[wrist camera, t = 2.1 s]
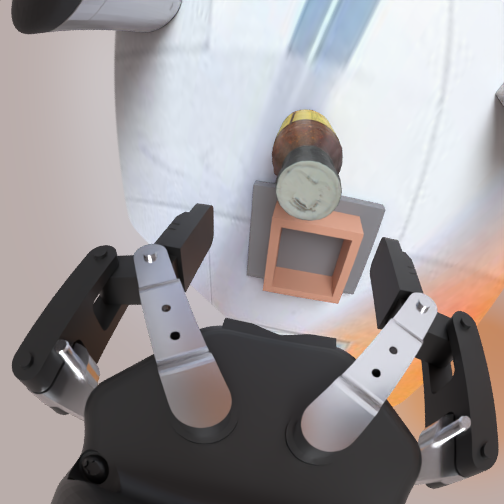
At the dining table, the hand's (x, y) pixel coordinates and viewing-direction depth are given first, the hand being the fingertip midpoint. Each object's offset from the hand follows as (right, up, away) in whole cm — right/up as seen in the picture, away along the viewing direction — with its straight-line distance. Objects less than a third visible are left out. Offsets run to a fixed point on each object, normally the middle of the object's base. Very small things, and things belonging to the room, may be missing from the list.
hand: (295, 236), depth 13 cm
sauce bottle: (+5, +14, +19) cm, 24 cm away
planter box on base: (+7, +1, +28) cm, 29 cm away
